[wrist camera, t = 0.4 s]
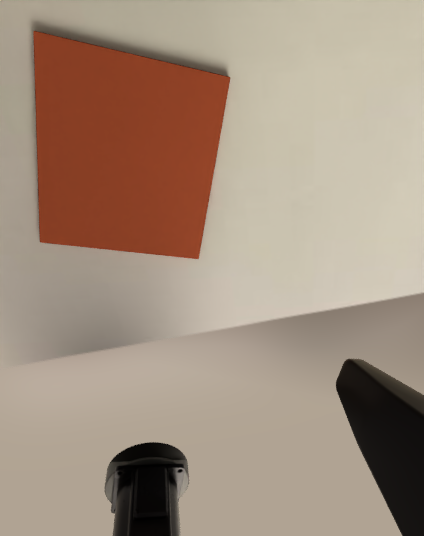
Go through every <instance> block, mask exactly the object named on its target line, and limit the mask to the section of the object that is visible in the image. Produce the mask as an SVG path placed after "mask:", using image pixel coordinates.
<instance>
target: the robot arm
mask: <svg viewBox="0 0 424 536" xmlns="http://www.w3.org/2000/svg"><path fill="white" fill-rule="evenodd" d="M336 389H337V392H338V395H339V398H340V400H341V403H342V405H343V408H344V410H345V413H346V415H347V418H348V421H349V423H350V426H351V428H352V431H353V434H354V436H355V438H356V441H357V444H358V446H359V448H360V450H361V452H362V454H363V456H364V458H365V460H366V462H367V464H368V467H369V469H370V471H371V472H372V475H373V477H374V479H375V481H376V483H377V485H378V487H379V489H380V491H381V493H382V495H383V497H384V499H385V501H386V503H387V505H388V507H389V509H390V511H391V513H392V515H393V517H394V520H395V522H396V524H397V526H398V528H399V530H400V532H401V534H402V536H424V395H422V394H421V393H419V392H417V391H415V390H414V389H412V388H410V387H409V386H407V385H405V384H403V383H402V382H400V381H398V380H396V379H395V378H393V377H391V376H389V375H388V374H386V373H384V372H383V371H381V370H379V369H377V368H376V367H374V366H372V365H370V364H369V363H367V362H365V361H364V360H361V359H347V360H346V361H345V362H344V364H343V366H342V369H341V371H340V374H339V376H338V378H337V381H336ZM184 474H185V465H184V464H181V463H179V464H150V465H121V466H117V467H116V468H115V475H114V486H113V496H112V507H111V512H112V513H115V519H114V530H113V536H180V522H179V507H178V501H179V497H180V492H181V487H182V483H183V478H184Z"/></svg>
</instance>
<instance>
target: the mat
mask: <svg viewBox="0 0 424 536" xmlns="http://www.w3.org/2000/svg"><path fill="white" fill-rule="evenodd" d="M34 64H35V97H36V130H37V163H38V196H39V229H40V242H42V243H52V244H61V245H71V246H80V247H90V248H99V249H108V250H118V251H127V252H137V253H146V254H156V255H165V256H175V257H184V258H193V259H198V258H199V253H200V247H201V241H202V236H203V230H204V224H205V219H206V213H207V207H208V202H209V196H210V190H211V184H212V179H213V173H214V167H215V162H216V156H217V150H218V145H219V139H220V133H221V127H222V122H223V116H224V110H225V105H226V99H227V93H228V88H229V82H230V77H227V76H223V75H219V74H215V73H211V72H206V71H202V70H198V69H194V68H189V67H185V66H181V65H177V64H172V63H168V62H164V61H160V60H156V59H151V58H147V57H143V56H139V55H134V54H130V53H126V52H122V51H117V50H113V49H109V48H105V47H101V46H96V45H92V44H88V43H84V42H79V41H75V40H71V39H67V38H62V37H58V36H54V35H50V34H46V33H41V32H37V31H34Z"/></svg>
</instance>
